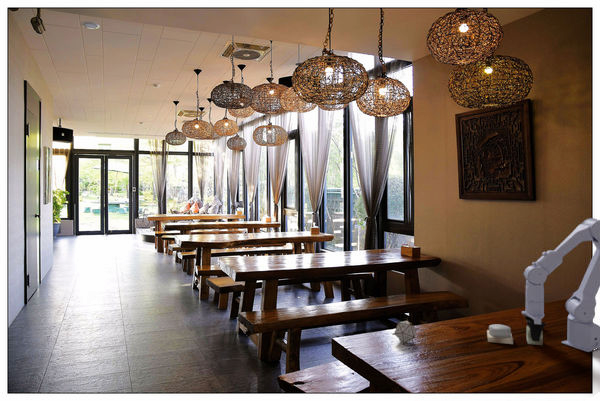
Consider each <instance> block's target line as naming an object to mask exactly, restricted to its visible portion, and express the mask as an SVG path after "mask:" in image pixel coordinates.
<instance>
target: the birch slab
mask: <svg viewBox="0 0 600 401" xmlns="http://www.w3.org/2000/svg"><path fill="white" fill-rule="evenodd" d="M512 335H513V334H511V336H510V337H508V338H498V337H494V336H491V335H490V334H489V329H487V330H486V336H487V342H489V343H496V344H507V345H508V344H509V345H514V337H513V336H512Z"/></svg>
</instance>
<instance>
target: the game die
mask: <svg viewBox="0 0 600 401" xmlns="http://www.w3.org/2000/svg"><path fill="white" fill-rule="evenodd" d="M396 322H397V324H395V331H394V332H393V333H392V334H391V335H392V336H396V338H398V339H399V341H401V342H402V345H403V346H404V345H405V344H406V343H409V342H411V341H412V343H415V341H414V339H416V336H415V335H416V333H417V331H418V330H419V328H418V327H417V328H416V326H414V325H413V323H412V322H410V321H409V318H406V320H404V321H399V320H397V321H396Z"/></svg>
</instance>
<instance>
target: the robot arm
mask: <svg viewBox="0 0 600 401" xmlns="http://www.w3.org/2000/svg"><path fill="white" fill-rule="evenodd" d="M590 241H591V242H592V243H593V244H594V246H595V247H596V249H595V251H594V253H593V256H592V258H591V259H590V263H589V264H588V267H587V269H586V271H585V274H584V276H583V278H582V280H581V283H580V285H579V287H578V289H577V290H576V291H575V292H573V293H572V295H571V297H570V298H569V299H567V300H566V303H565V309H566V311H567V312H568V316H567V327H566V328H567V329H566V330H567V332H566V334H567V336H566V337H567V340H563V341H561V344H563V345H565V346H569V347H572V348H575V349H578V350H581V351H584V352H587V353H590V352H593V351H592V350H594V349H596V348H600V325H599V324H596V323H594V322H593V320H594V318H595V316H596V306H597V300H596V297H597V294H598V292H599V290H600V219H597V218H593V217H589V218H587V219H585V220H584V221H583V222H581V223H580V224H578V225H577V227H576V228H575V229H574V230H573V231H572V232H571V233H570V234H569V235H568V236H567V237H566V238H565V239H564V240H563V241H562V242H561V243H560V244H559V245H558V246H557V247H556V248H555V249H554V250H551V249H550V250H547V251H543V252H542V253H541V256H540V257H539V258H538V259H537V260H536V261H533V262H531V265H528V266H527V267H526V268H525V270H524V272H523V276H524V278H525V310H521V314H522V315H523V316H524V318H525V320H526V323H527V326H529V327H530V332H531V338H532V341H539V340H540V336H541V332H542V331H543V329H544V328H545V326H546V322H545V321H542V319H543V318H544V317H545V313H544V312H545V311H544V310H545V298H544V297H545V288H544V283H545V282H546V280H547V278H548V276H549V275H550V274H551V273H552V272H553V271H554V270H555V269H556V268H558V267H559V266H560V265H561V264H563V258H564V257H565V256H566V255H567V254H568V253H569V252H571V251H572V250H573V249H574V248H575V247H577V246H578V245H579V244H580V243H582V242H590ZM594 351H595V350H594Z"/></svg>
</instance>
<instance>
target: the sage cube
mask: <svg viewBox="0 0 600 401" xmlns="http://www.w3.org/2000/svg"><path fill="white" fill-rule="evenodd" d="M525 329H526V330H525V332H526V342H527V344H528V345H537V346H543V345H544V344H543V342H544V341H543V339H544V337H543V333H544V332H543V330H542V332H541V336H540V340H539V341H532V338H531V332H530V327H529V326H528V325H526V328H525Z"/></svg>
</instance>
